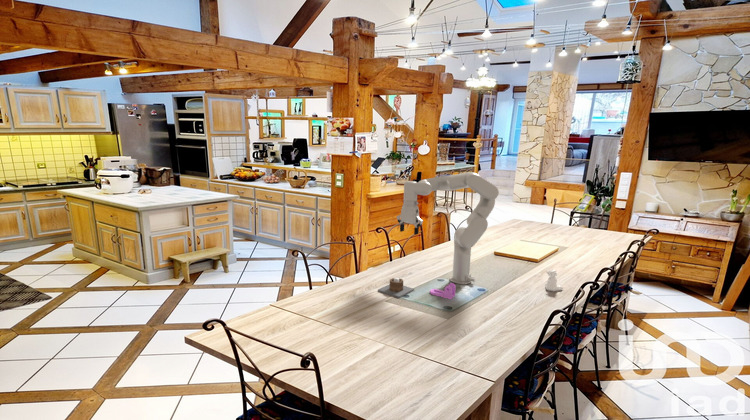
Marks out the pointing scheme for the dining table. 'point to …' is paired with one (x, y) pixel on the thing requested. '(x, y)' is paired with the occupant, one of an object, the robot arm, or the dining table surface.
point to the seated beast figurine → (552, 281)
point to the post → (396, 294)
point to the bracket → (447, 293)
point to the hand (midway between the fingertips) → (409, 232)
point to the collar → (396, 285)
